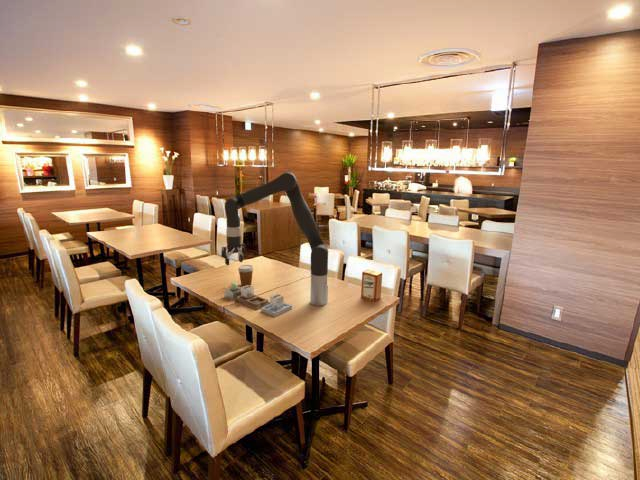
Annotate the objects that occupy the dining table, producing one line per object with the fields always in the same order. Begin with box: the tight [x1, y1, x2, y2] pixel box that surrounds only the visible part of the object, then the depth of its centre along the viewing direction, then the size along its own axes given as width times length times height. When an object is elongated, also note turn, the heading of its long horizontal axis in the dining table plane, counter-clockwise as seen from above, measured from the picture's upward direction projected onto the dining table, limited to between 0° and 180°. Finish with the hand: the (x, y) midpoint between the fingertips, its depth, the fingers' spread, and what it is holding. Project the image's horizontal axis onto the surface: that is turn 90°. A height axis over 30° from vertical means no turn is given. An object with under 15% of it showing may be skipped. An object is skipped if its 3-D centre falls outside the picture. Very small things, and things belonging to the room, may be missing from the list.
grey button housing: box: [224, 286, 241, 302], centre depth 188 cm, size 8×8×4 cm
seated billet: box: [240, 285, 255, 300], centre depth 183 cm, size 5×5×7 cm
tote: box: [260, 301, 293, 318], centre depth 173 cm, size 13×10×2 cm
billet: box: [269, 293, 284, 311], centre depth 172 cm, size 5×5×7 cm
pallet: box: [234, 294, 270, 311], centre depth 181 cm, size 10×18×2 cm, turn 53°
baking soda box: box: [360, 269, 383, 302], centre depth 191 cm, size 10×6×16 cm
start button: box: [230, 281, 238, 291], centre depth 187 cm, size 3×3×4 cm
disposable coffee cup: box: [237, 264, 254, 287], centre depth 207 cm, size 10×10×12 cm
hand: (234, 263), depth 179 cm, fingers open, 8 cm apart
